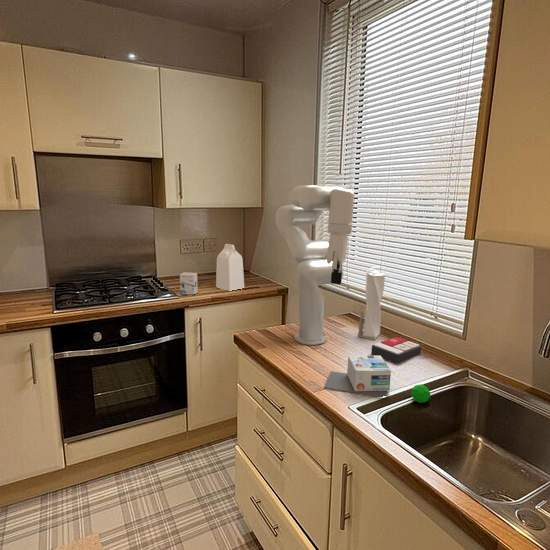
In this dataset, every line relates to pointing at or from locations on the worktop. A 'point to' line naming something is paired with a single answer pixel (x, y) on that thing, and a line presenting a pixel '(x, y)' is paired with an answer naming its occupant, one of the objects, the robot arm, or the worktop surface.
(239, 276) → the milk
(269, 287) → the worktop surface
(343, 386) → the mat
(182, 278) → the ink box
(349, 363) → the light bulb box
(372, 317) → the skyscraper
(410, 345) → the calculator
